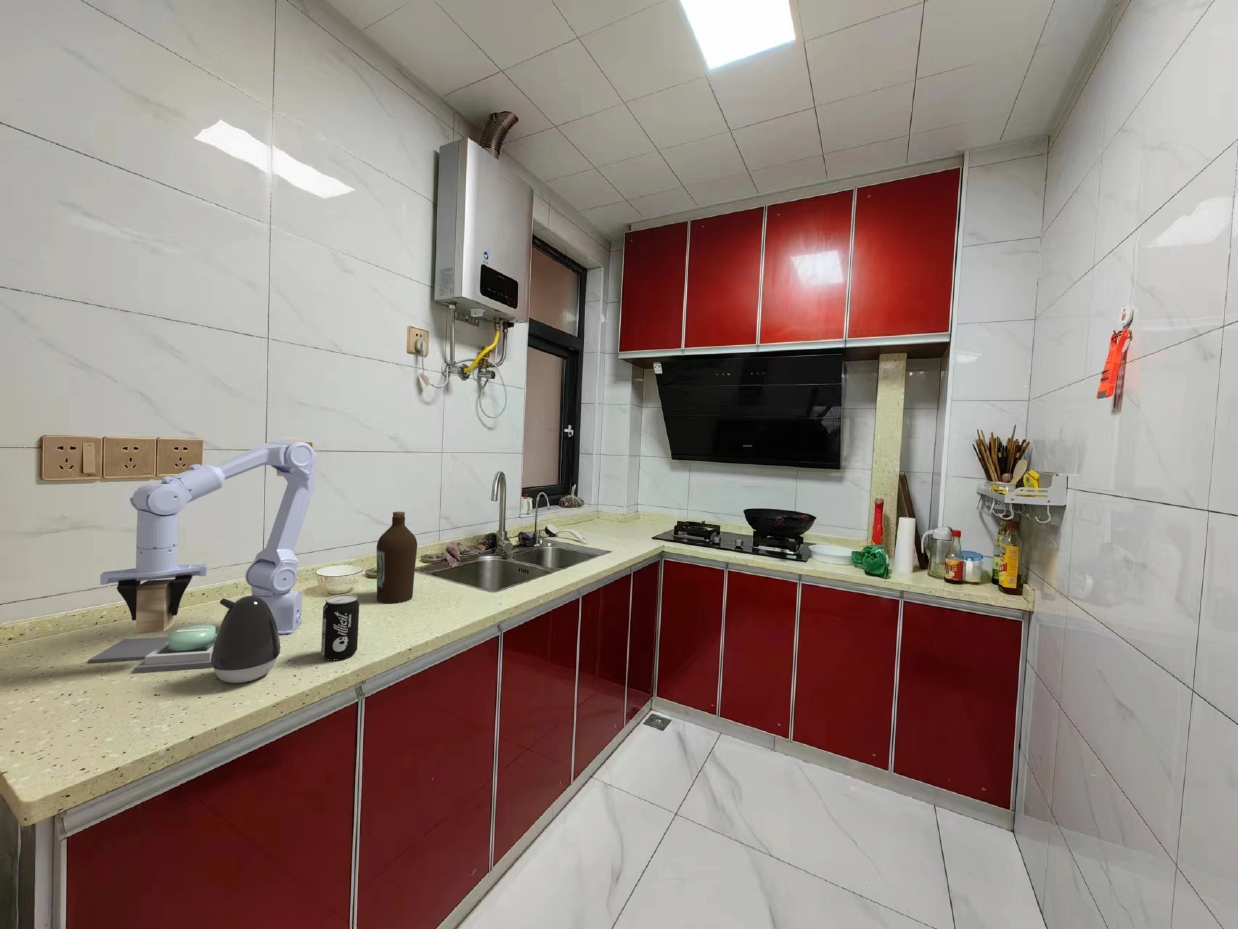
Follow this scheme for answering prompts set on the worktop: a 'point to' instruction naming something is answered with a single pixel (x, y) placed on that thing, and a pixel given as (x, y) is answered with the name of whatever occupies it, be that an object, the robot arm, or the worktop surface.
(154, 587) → the wooden rectangular block
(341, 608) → the beverage can
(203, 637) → the button
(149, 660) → the switch panel
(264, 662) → the pump dispenser
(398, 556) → the olive oil
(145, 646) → the mat
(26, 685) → the worktop surface
